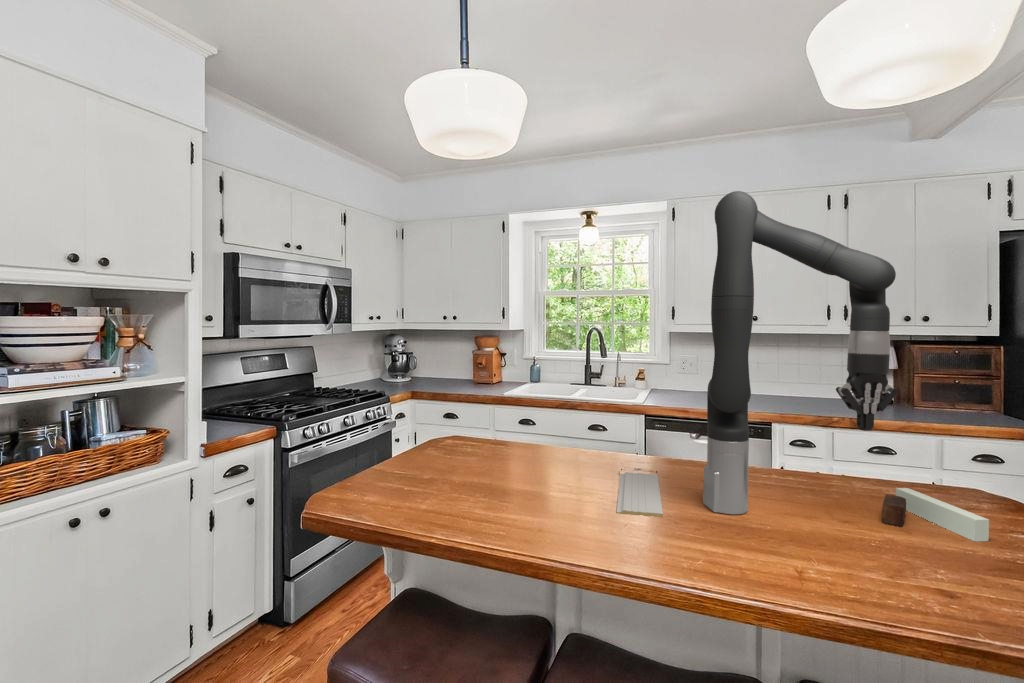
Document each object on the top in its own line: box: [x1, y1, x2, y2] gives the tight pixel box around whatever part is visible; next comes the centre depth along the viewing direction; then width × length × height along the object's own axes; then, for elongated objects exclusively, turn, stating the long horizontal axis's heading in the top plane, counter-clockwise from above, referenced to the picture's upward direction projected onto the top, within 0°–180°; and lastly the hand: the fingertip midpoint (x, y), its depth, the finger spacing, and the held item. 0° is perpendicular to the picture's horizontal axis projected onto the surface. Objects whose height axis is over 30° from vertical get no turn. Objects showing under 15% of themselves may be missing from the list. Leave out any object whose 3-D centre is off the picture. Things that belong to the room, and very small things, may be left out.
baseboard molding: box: [616, 468, 664, 518], centre depth 132 cm, size 31×3×12 cm
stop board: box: [895, 487, 990, 542], centre depth 113 cm, size 3×20×4 cm, turn 3°
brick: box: [881, 493, 907, 528], centre depth 115 cm, size 11×4×5 cm, turn 139°
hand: (865, 429), depth 110 cm, fingers closed
